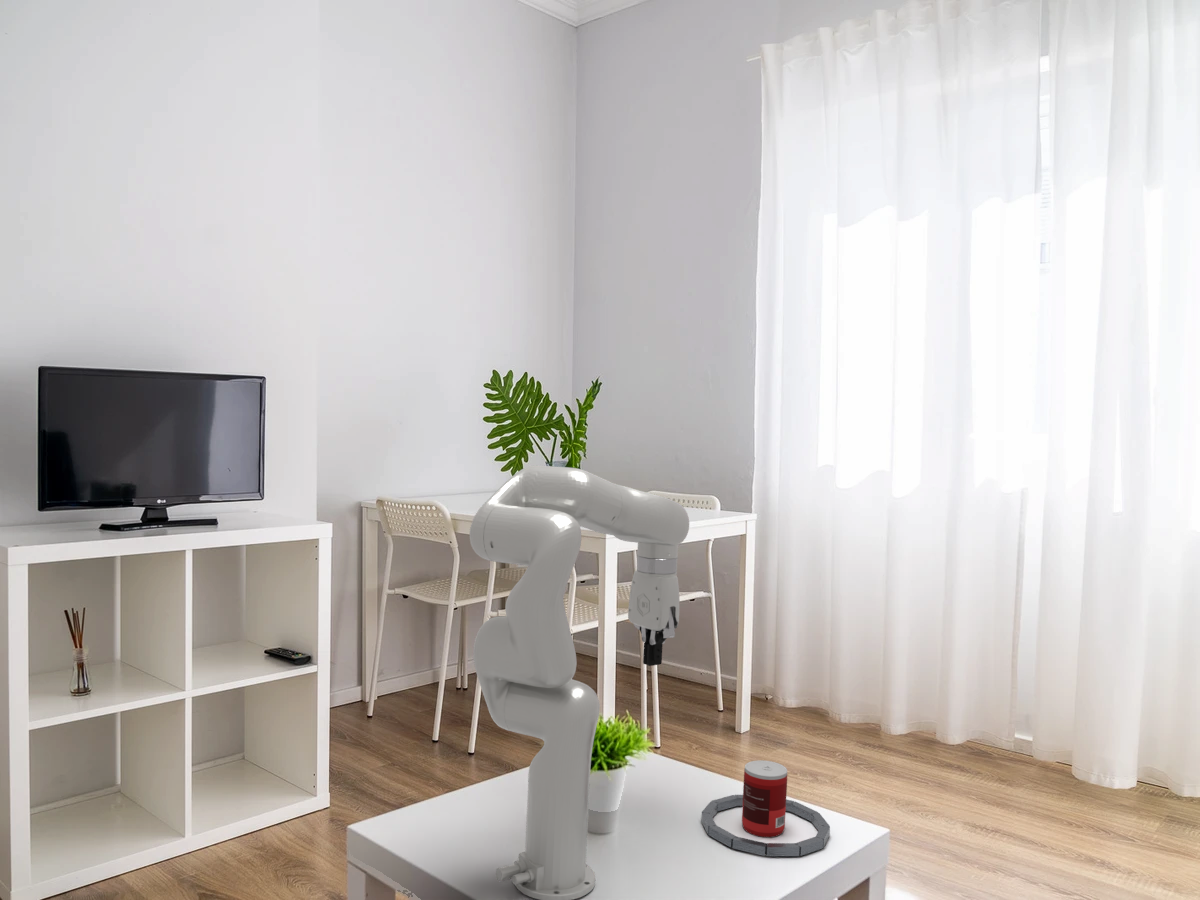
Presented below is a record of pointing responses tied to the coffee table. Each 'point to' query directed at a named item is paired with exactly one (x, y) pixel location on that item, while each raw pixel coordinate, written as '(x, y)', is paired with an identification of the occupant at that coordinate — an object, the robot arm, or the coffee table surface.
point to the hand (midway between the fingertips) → (652, 664)
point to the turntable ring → (761, 847)
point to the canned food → (764, 798)
